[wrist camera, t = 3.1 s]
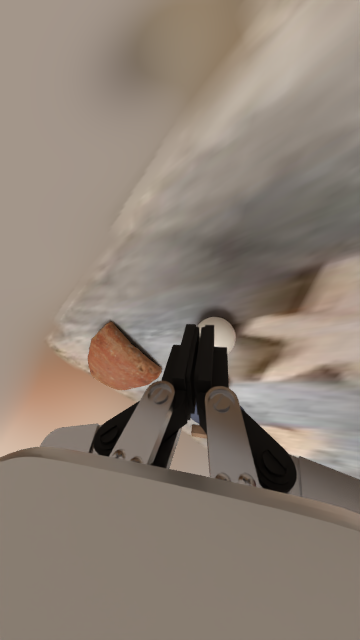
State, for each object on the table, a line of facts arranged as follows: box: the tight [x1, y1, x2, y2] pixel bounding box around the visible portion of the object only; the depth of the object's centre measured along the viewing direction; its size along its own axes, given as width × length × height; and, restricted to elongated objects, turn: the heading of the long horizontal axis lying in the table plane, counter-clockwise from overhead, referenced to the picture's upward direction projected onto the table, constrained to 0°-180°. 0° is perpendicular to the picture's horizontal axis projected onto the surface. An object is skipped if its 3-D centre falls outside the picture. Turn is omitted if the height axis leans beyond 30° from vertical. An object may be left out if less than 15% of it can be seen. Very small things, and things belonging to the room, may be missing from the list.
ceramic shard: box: [88, 322, 162, 390], centre depth 37 cm, size 15×6×15 cm
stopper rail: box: [191, 424, 207, 438], centre depth 47 cm, size 12×2×2 cm, turn 96°
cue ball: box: [197, 317, 236, 354], centre depth 26 cm, size 6×6×6 cm
